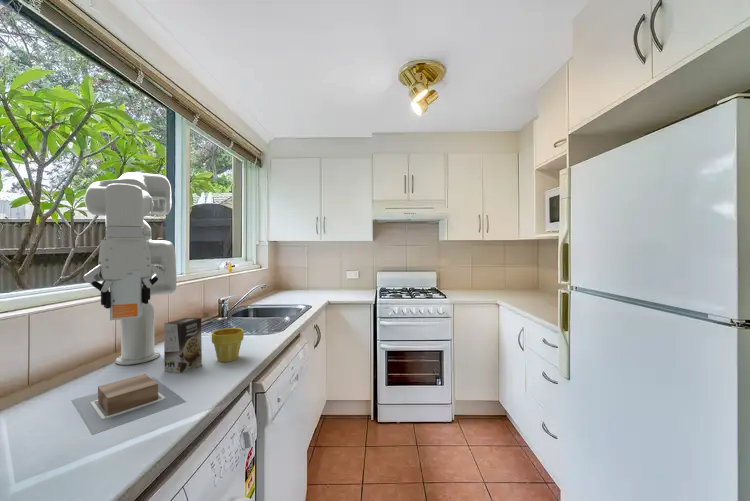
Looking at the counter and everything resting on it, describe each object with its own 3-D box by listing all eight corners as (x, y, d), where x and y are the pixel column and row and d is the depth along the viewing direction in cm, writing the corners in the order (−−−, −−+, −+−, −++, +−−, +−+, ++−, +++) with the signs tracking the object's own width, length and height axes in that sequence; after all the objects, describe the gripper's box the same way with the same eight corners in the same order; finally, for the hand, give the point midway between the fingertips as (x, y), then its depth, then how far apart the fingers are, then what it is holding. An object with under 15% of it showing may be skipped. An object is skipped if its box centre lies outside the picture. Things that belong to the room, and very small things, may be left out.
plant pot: (249, 354, 118) (249, 328, 118) (232, 364, 108) (232, 335, 108) (224, 353, 120) (223, 326, 120) (205, 363, 110) (204, 334, 110)
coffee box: (181, 376, 99) (180, 324, 99) (163, 374, 100) (162, 323, 100) (202, 365, 108) (202, 317, 108) (186, 364, 109) (185, 316, 109)
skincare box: (109, 321, 78) (108, 271, 77) (114, 317, 81) (113, 270, 81) (140, 318, 80) (139, 270, 80) (143, 315, 84) (142, 269, 84)
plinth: (98, 402, 81) (97, 386, 80) (145, 388, 88) (145, 374, 88) (108, 415, 74) (107, 398, 74) (158, 399, 82) (158, 383, 82)
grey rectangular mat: (71, 404, 82) (71, 399, 82) (153, 380, 96) (153, 376, 96) (92, 439, 67) (92, 433, 67) (186, 405, 81) (186, 400, 81)
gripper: (159, 235, 90) (161, 299, 90) (75, 234, 76) (77, 309, 76) (170, 234, 85) (171, 302, 85) (81, 233, 71) (83, 313, 72)
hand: (126, 304), depth 81 cm, fingers closed on skincare box, 7 cm apart
